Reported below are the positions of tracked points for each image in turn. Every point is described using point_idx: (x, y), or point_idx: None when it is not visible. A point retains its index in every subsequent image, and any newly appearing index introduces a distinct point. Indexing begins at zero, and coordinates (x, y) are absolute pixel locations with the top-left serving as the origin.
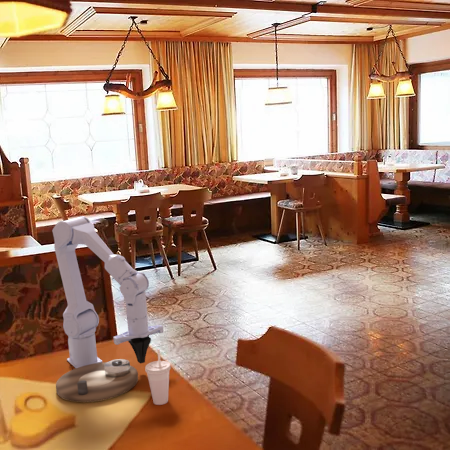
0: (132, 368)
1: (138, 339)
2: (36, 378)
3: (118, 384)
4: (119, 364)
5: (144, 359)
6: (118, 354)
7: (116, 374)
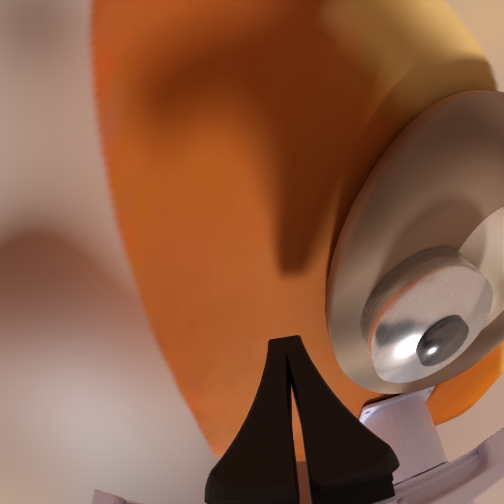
0: (344, 319)
1: (325, 500)
2: (495, 357)
3: (483, 158)
4: (449, 320)
5: (273, 352)
6: (296, 429)
7: (464, 258)
